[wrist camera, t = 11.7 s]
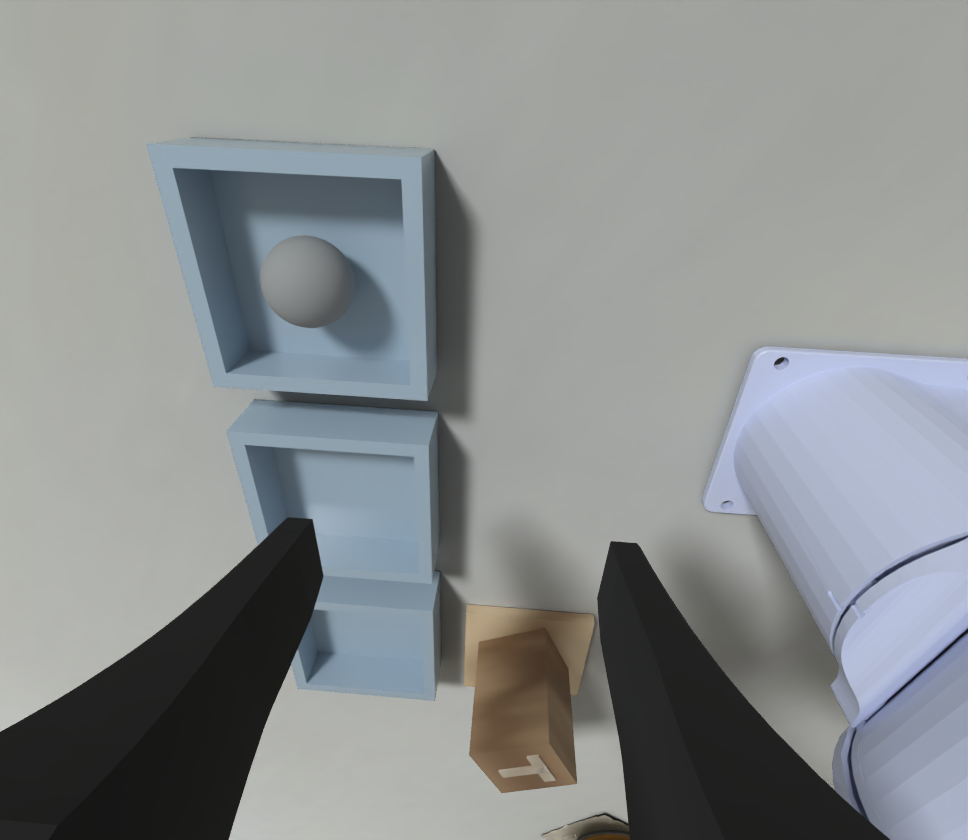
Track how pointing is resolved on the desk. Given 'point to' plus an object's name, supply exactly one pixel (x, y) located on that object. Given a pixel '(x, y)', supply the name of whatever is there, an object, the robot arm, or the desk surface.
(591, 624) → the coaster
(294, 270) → the grey ball
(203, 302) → the dish
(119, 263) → the desk surface
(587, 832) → the condiment
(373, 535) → the dish
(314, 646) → the dish
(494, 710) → the letter block
